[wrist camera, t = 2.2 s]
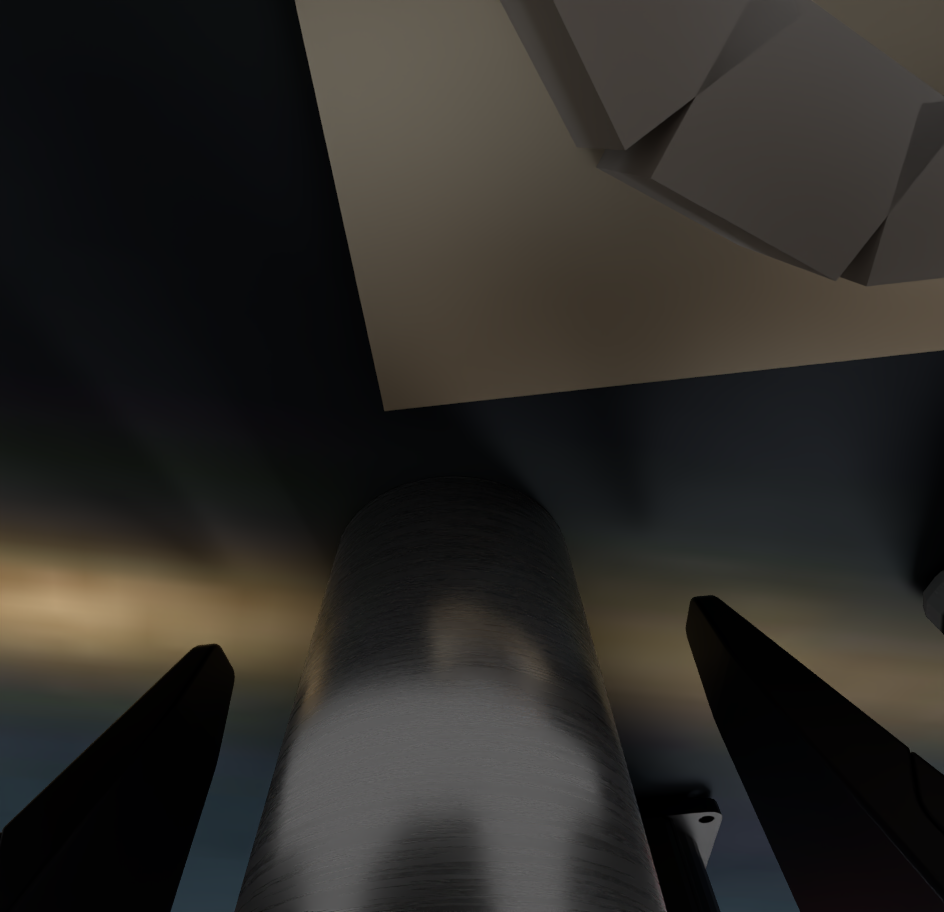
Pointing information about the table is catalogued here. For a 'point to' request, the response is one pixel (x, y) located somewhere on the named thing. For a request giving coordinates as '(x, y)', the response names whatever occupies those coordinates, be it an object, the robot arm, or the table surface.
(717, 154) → the mount
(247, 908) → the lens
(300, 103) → the table surface
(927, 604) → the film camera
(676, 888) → the robot arm
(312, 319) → the table surface
